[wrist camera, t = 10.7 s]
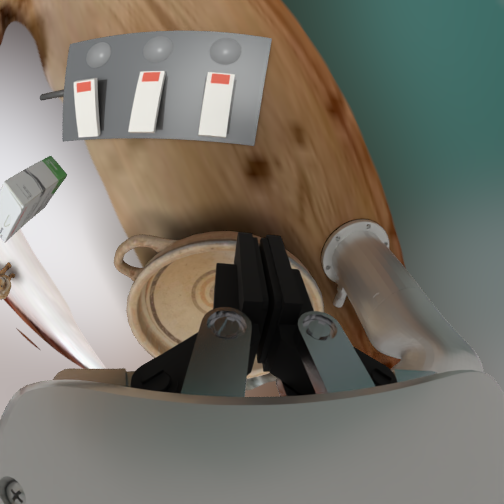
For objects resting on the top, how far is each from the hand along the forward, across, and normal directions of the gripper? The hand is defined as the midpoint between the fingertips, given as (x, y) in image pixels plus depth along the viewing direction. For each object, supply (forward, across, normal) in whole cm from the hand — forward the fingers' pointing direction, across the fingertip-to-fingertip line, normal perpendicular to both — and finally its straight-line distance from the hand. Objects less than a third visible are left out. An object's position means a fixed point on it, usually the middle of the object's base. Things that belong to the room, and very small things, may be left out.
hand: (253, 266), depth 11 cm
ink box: (+27, +30, +6) cm, 41 cm away
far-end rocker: (+23, +3, -6) cm, 24 cm away
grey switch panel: (+27, +14, -8) cm, 31 cm away
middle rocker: (+23, +11, -6) cm, 26 cm away
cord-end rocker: (+23, +19, -6) cm, 30 cm away
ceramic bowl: (+27, -1, +23) cm, 36 cm away
